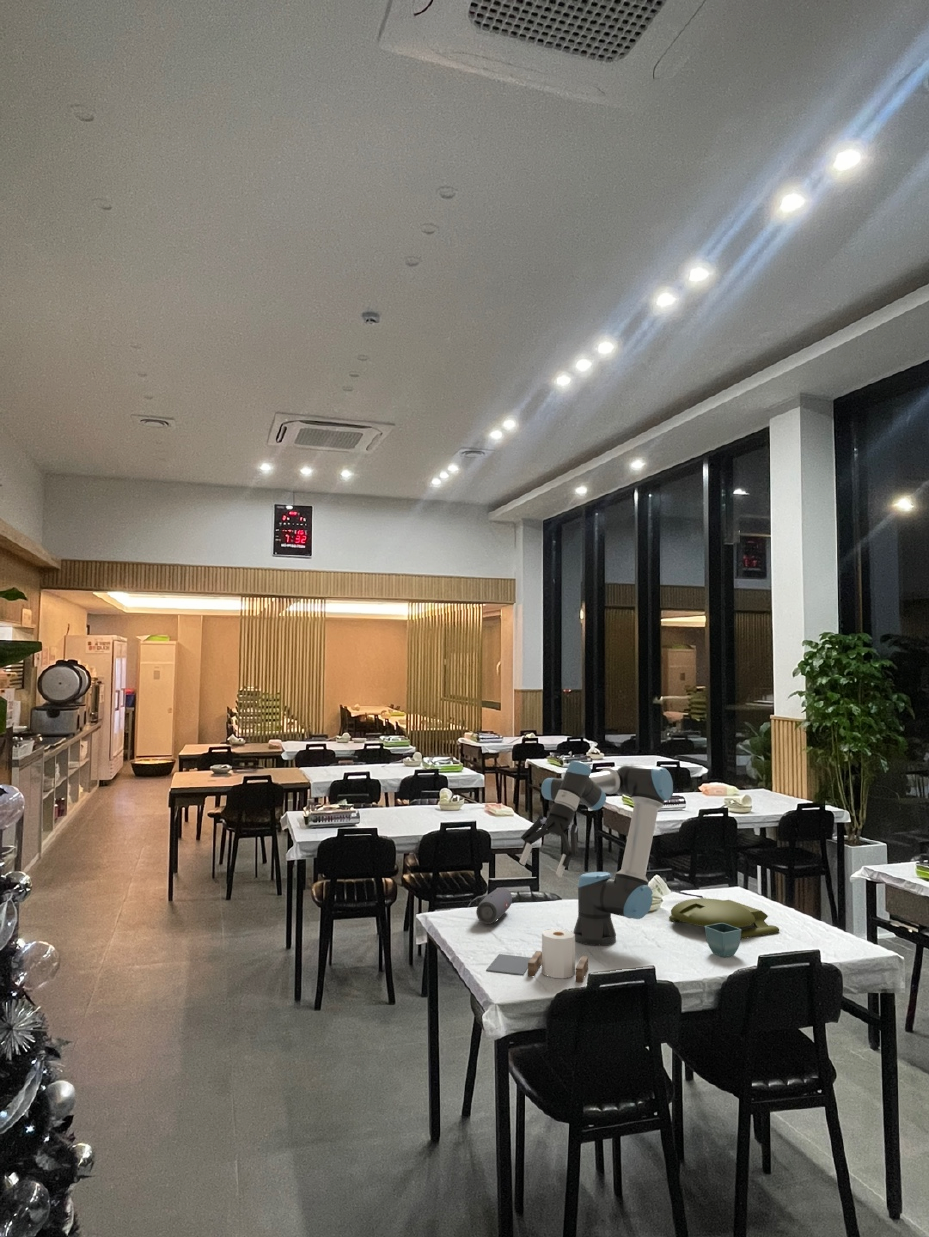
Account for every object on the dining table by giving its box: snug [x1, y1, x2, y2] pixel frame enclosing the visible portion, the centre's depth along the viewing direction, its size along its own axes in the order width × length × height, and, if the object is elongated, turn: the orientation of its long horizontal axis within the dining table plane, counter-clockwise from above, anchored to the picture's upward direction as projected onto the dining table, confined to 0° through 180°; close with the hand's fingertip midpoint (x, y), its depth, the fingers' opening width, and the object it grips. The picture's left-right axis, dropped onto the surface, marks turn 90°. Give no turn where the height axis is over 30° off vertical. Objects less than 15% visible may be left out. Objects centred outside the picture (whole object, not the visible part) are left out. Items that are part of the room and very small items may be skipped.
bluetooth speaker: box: [475, 887, 513, 925], centre depth 315 cm, size 23×9×10 cm, turn 162°
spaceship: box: [668, 897, 780, 940], centre depth 309 cm, size 35×31×10 cm
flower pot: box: [704, 923, 742, 958], centre depth 277 cm, size 9×9×9 cm
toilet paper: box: [541, 928, 576, 979], centre depth 257 cm, size 10×10×12 cm
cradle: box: [527, 950, 589, 983], centre depth 257 cm, size 12×17×4 cm
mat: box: [485, 953, 532, 976], centre depth 263 cm, size 16×12×1 cm
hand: (539, 869), depth 252 cm, fingers open, 13 cm apart
